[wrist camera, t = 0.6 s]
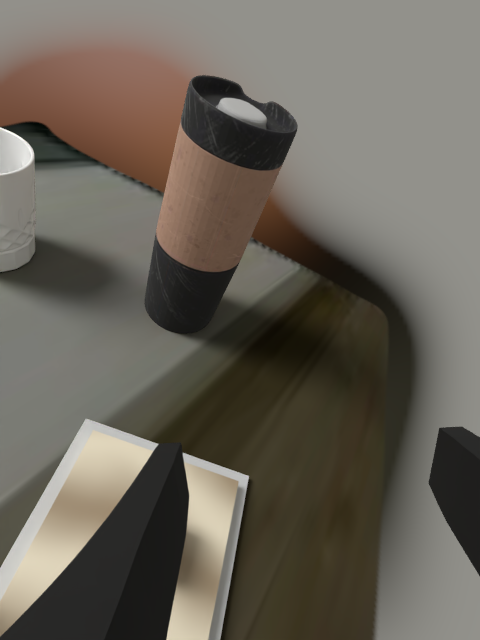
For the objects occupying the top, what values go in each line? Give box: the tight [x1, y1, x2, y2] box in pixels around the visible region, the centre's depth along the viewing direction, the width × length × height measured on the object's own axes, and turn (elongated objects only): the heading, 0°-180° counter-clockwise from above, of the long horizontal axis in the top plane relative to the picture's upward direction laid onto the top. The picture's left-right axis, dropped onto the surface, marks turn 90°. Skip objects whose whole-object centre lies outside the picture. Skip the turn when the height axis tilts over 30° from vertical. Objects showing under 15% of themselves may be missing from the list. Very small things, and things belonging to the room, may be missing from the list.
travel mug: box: [145, 75, 297, 333], centre depth 29 cm, size 8×8×20 cm
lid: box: [0, 430, 239, 640], centre depth 20 cm, size 11×11×4 cm
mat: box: [0, 419, 249, 640], centre depth 22 cm, size 13×13×1 cm
